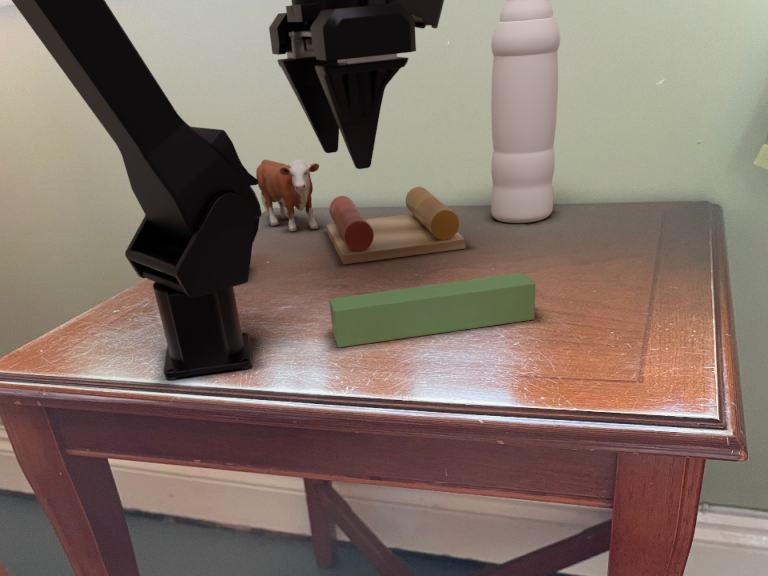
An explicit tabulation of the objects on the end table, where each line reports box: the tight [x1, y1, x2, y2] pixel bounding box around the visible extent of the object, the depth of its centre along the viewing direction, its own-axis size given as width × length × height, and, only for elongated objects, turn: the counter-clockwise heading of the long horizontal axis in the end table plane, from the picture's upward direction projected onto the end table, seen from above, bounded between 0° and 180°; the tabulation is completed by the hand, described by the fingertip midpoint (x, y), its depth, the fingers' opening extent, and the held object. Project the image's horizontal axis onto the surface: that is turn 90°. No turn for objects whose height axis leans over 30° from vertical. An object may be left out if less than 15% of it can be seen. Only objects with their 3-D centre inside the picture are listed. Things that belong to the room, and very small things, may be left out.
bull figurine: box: [255, 158, 320, 232], centre depth 91 cm, size 4×13×8 cm, turn 29°
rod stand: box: [326, 186, 466, 265], centre depth 84 cm, size 14×13×4 cm
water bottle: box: [490, 0, 561, 224], centre depth 82 cm, size 7×7×25 cm
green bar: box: [328, 272, 536, 348], centre depth 61 cm, size 3×16×3 cm, turn 100°
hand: (346, 159), depth 61 cm, fingers open, 9 cm apart
